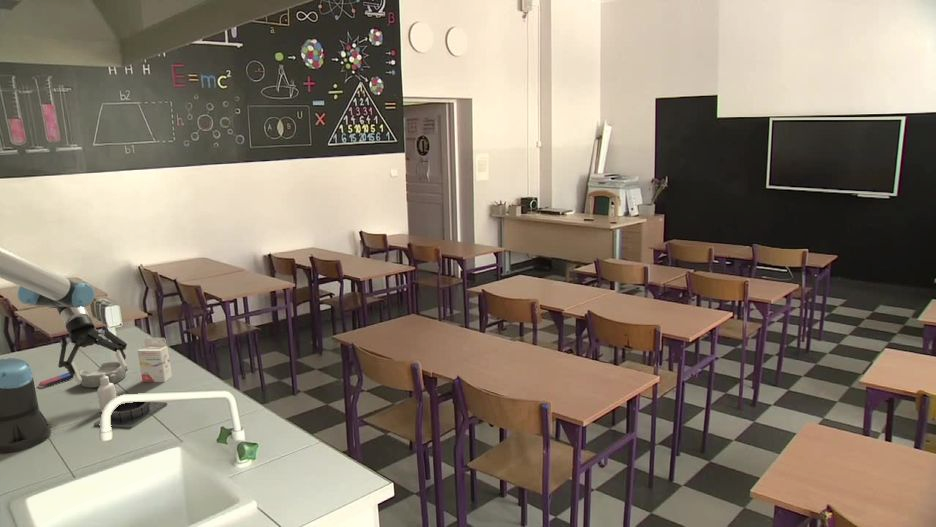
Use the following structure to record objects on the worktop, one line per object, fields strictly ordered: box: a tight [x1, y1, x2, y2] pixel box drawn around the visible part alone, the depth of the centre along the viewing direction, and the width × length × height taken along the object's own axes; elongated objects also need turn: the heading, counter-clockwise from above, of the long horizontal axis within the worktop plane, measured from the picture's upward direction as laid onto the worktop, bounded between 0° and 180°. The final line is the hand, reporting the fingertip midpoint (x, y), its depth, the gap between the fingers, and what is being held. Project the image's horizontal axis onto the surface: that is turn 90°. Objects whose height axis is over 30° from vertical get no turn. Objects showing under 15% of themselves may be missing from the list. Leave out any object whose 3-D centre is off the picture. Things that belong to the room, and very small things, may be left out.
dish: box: [78, 361, 129, 388], centre depth 230 cm, size 14×14×5 cm
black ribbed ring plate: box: [93, 401, 168, 429], centre depth 201 cm, size 16×13×3 cm
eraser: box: [37, 372, 74, 389], centre depth 232 cm, size 11×4×2 cm, turn 144°
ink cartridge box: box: [137, 337, 173, 383], centre depth 228 cm, size 9×5×15 cm, turn 84°
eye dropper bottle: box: [97, 373, 117, 413], centre depth 205 cm, size 4×6×12 cm
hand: (103, 375), depth 209 cm, fingers open, 13 cm apart
